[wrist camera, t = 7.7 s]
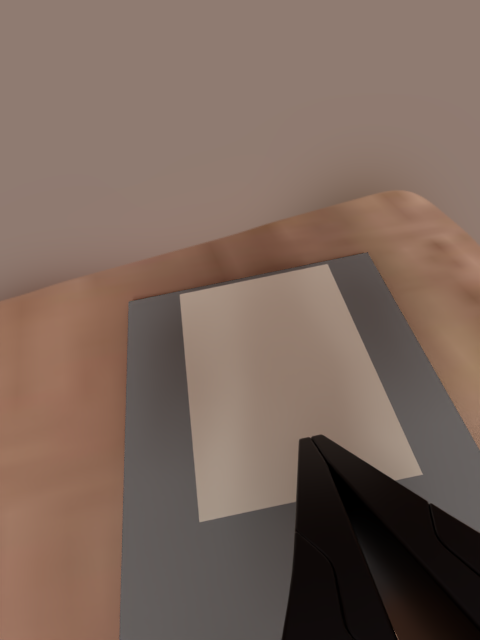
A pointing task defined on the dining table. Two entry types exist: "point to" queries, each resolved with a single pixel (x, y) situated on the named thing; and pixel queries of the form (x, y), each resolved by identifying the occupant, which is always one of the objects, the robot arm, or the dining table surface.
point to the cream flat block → (279, 389)
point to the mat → (269, 523)
